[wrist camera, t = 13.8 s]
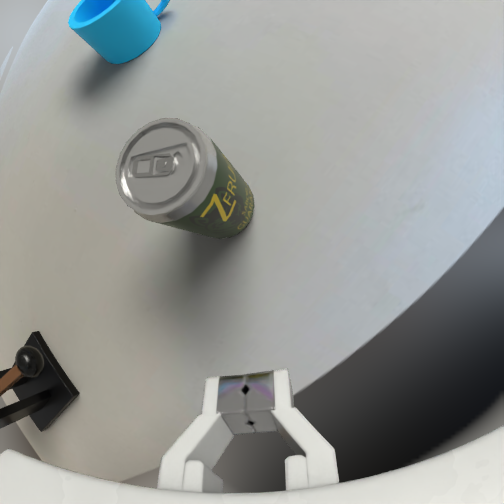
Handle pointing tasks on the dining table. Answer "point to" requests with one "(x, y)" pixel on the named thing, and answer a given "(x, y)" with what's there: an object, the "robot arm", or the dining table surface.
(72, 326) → the dining table surface
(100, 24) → the mug
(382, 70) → the dining table surface
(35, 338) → the bracket
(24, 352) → the lever
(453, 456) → the robot arm
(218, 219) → the green drink can
